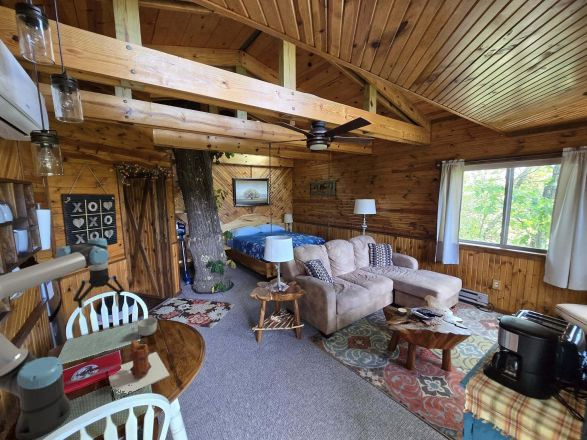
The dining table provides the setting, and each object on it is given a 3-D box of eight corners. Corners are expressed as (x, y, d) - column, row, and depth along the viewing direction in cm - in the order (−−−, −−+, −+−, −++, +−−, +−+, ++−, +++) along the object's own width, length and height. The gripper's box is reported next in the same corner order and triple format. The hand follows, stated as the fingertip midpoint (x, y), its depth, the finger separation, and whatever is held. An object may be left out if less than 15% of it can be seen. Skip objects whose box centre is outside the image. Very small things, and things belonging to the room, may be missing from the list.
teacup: (155, 327, 162) (154, 315, 162) (159, 333, 155) (159, 321, 154) (130, 334, 153) (130, 322, 152) (133, 342, 145) (133, 329, 144)
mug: (154, 374, 118) (152, 345, 117) (135, 384, 112) (133, 353, 111) (143, 361, 128) (141, 334, 126) (125, 369, 122) (123, 341, 120)
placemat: (114, 401, 103) (114, 400, 103) (107, 371, 121) (107, 370, 121) (169, 375, 119) (169, 374, 118) (156, 352, 136) (156, 351, 136)
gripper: (126, 263, 134) (128, 300, 135) (64, 271, 116) (67, 314, 117) (129, 265, 128) (131, 304, 129) (65, 274, 111) (67, 319, 112)
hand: (100, 309), depth 123 cm, fingers open, 13 cm apart
